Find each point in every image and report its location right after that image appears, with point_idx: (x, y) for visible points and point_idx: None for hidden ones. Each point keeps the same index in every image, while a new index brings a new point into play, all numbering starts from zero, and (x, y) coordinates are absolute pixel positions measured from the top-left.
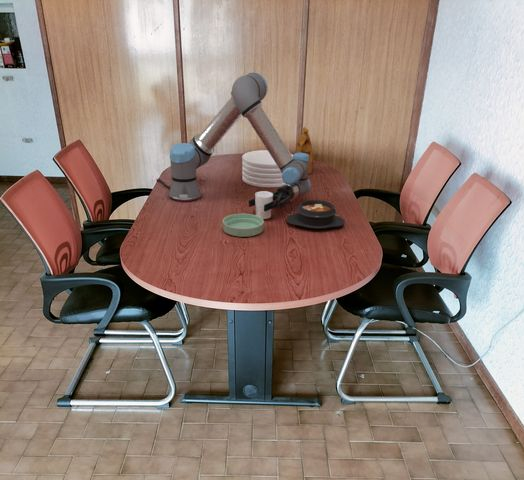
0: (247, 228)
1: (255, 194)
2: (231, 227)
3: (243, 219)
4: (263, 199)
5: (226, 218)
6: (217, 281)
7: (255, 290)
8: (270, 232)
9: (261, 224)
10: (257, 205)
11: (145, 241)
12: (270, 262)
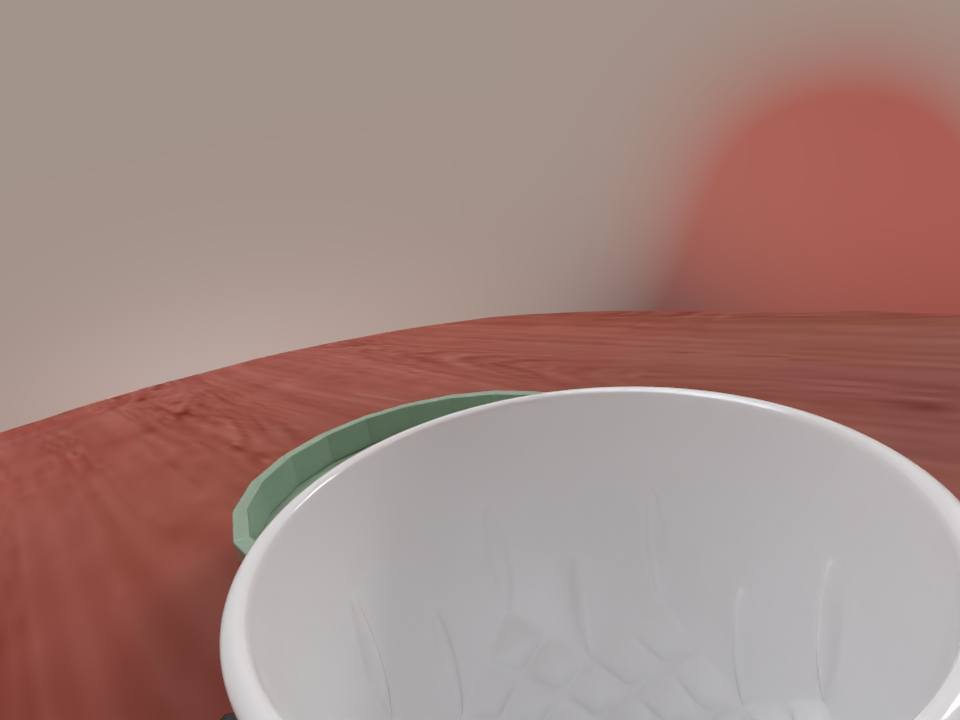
0: (311, 440)
1: (657, 388)
2: (415, 402)
3: None
4: (404, 484)
5: None
6: (240, 382)
7: (101, 414)
8: (178, 676)
9: (237, 513)
10: (573, 585)
11: (626, 324)
12: (73, 482)
